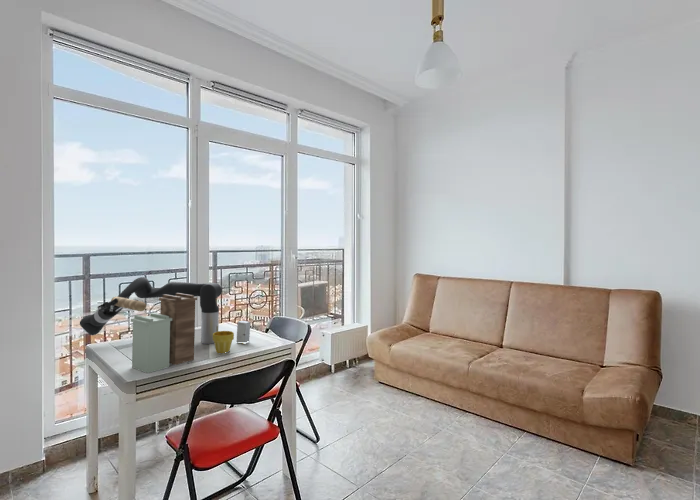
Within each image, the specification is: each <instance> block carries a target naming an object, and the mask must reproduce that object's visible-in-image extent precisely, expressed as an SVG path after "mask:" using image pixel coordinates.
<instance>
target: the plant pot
mask: <svg viewBox="0 0 700 500" xmlns="http://www.w3.org/2000/svg"><path fill="white" fill-rule="evenodd" d="M234 336H235V333H234V331H231V330H218V332H215V333H213V341H214V343H213V344H214V349H215V351H216V352H217V354H219V353H224V354H226V353H225V352H228V351H229V352H230V351H231V348H232V344H233V340H235V339H234V338H235V337H234ZM229 352H228V353H229Z"/></svg>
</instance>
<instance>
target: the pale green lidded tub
mask: <svg viewBox="0 0 700 500" xmlns="http://www.w3.org/2000/svg"><path fill="white" fill-rule="evenodd" d="M170 321H172V318H169V316H166V315H162V314H160V313H156V312H151V313H150V315H146V316H143V315H138V314H137V315H133V318H130V322H131V323H132V341H131V342H132V344H131V345H132V347H131V348H132V350H131V351H132V352H131V353H132V354H131V368H132V369H135V370H138V371H140V372H143V373H146V374H150V373H152V372H156V371H159V370H164V369H166V368H169V367H170V363H169V352H170Z"/></svg>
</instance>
